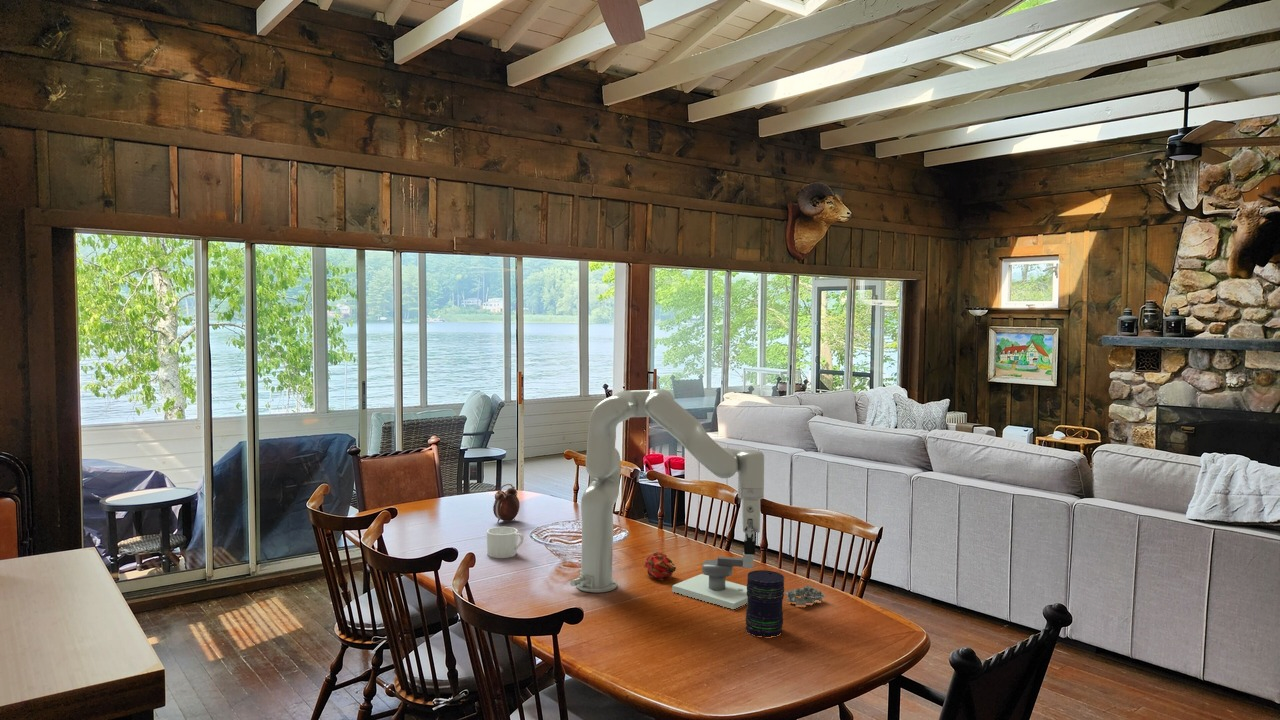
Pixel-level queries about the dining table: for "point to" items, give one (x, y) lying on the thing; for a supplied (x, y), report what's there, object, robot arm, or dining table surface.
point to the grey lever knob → (726, 565)
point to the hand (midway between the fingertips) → (750, 549)
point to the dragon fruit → (659, 566)
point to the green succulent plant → (805, 599)
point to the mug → (503, 542)
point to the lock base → (713, 590)
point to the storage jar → (764, 603)
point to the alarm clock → (506, 504)
